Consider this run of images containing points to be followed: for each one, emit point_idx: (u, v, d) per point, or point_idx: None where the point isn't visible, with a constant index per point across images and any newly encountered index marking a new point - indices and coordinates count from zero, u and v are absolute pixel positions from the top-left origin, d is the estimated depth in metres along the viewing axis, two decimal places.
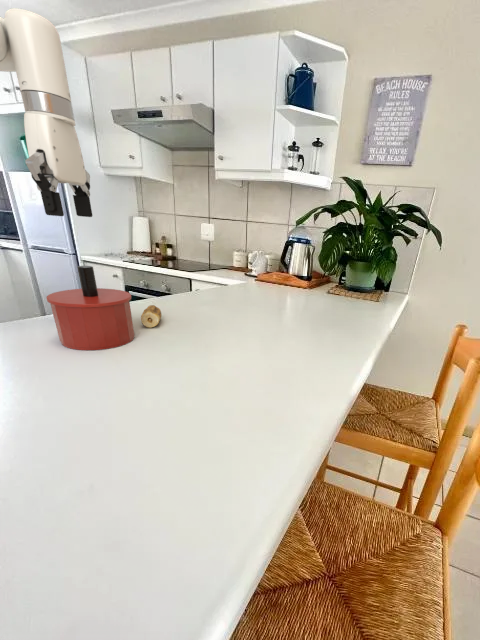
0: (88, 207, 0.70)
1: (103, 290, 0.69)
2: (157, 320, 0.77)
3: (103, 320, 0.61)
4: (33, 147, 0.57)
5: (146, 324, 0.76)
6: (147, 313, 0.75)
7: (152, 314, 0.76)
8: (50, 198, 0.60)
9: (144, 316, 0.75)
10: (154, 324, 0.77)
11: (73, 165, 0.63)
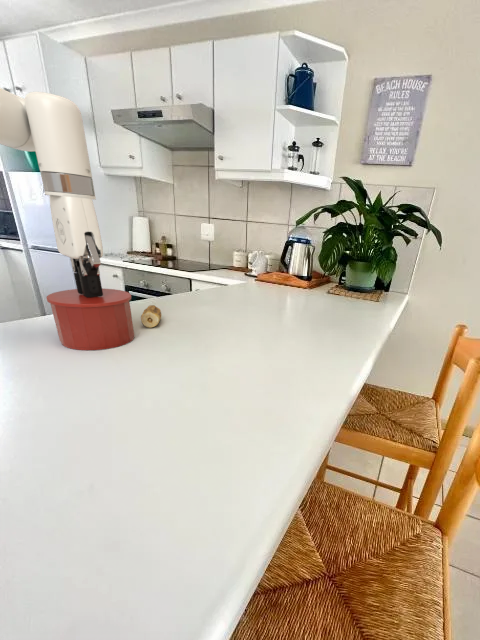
0: None
1: (103, 290, 0.69)
2: (157, 320, 0.77)
3: (103, 320, 0.61)
4: (81, 230, 0.55)
5: (146, 324, 0.76)
6: (147, 313, 0.75)
7: (152, 314, 0.76)
8: (96, 282, 0.62)
9: (144, 316, 0.75)
10: (154, 324, 0.77)
11: None
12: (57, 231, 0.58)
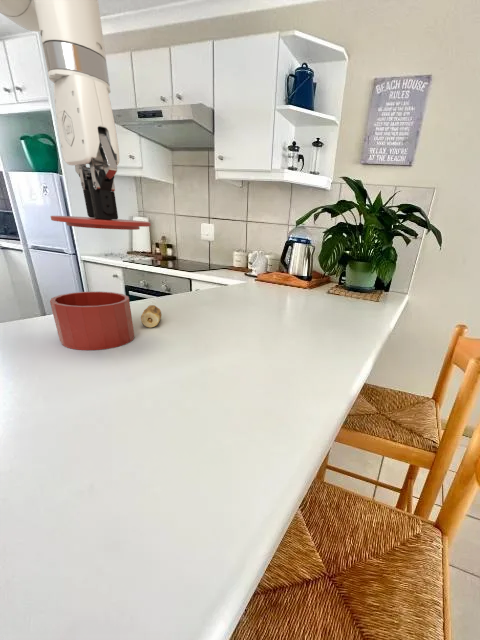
0: None
1: (117, 219, 0.58)
2: (157, 320, 0.77)
3: (103, 320, 0.61)
4: (94, 123, 0.45)
5: (146, 324, 0.76)
6: (147, 313, 0.75)
7: (152, 314, 0.76)
8: (110, 199, 0.51)
9: (144, 316, 0.75)
10: (154, 324, 0.77)
11: None
12: (63, 131, 0.48)
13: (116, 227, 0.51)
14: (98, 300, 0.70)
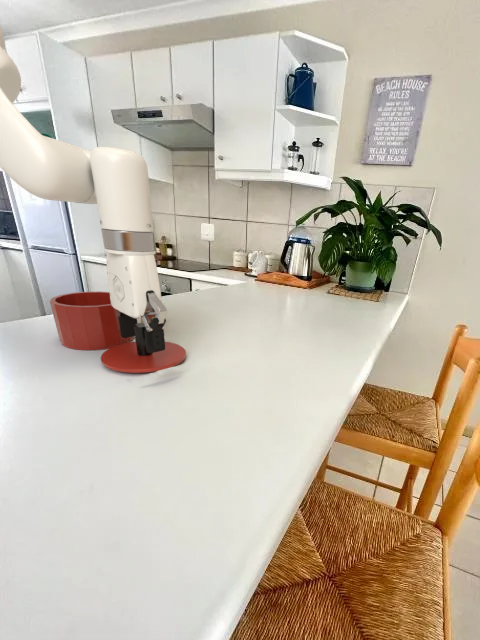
0: None
1: None
2: None
3: (103, 320, 0.61)
4: (143, 290, 0.51)
5: None
6: None
7: None
8: (160, 336, 0.55)
9: None
10: None
11: None
12: (113, 287, 0.54)
13: None
14: (98, 300, 0.70)
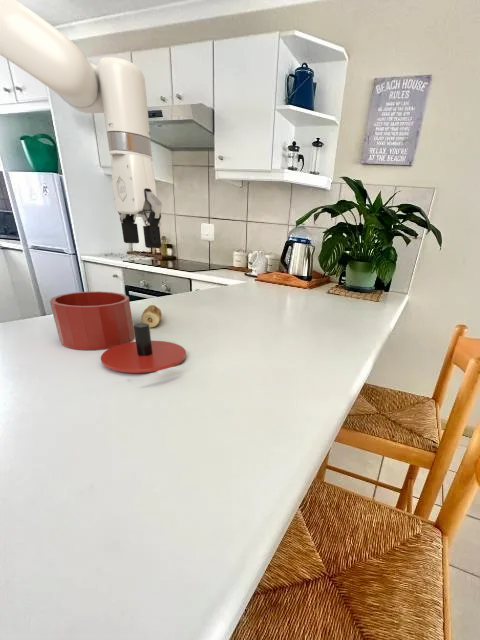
0: (137, 234, 0.72)
1: (154, 344, 0.65)
2: (157, 320, 0.77)
3: (103, 320, 0.61)
4: (141, 186, 0.61)
5: None
6: (147, 313, 0.75)
7: (152, 314, 0.76)
8: (156, 232, 0.65)
9: (144, 316, 0.75)
10: (154, 324, 0.77)
11: None
12: (117, 189, 0.64)
13: None
14: (98, 300, 0.70)
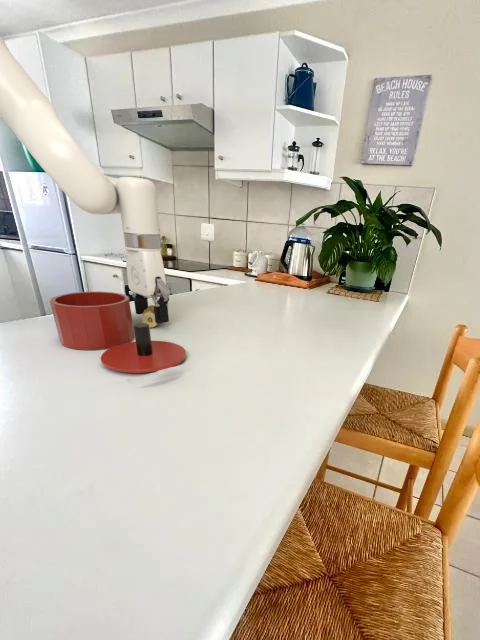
0: (147, 306, 0.82)
1: (154, 344, 0.65)
2: None
3: (103, 320, 0.61)
4: (153, 276, 0.71)
5: None
6: (147, 313, 0.75)
7: (152, 314, 0.76)
8: (165, 311, 0.76)
9: (144, 316, 0.75)
10: (154, 324, 0.77)
11: None
12: (131, 275, 0.74)
13: None
14: (98, 300, 0.70)
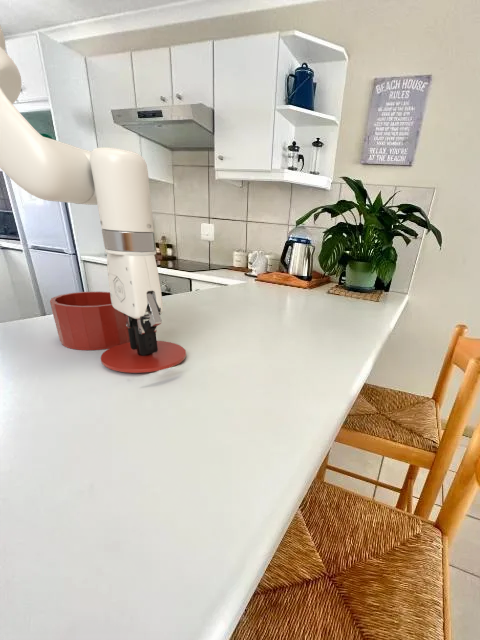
0: None
1: None
2: None
3: (103, 320, 0.61)
4: (143, 290, 0.51)
5: None
6: None
7: None
8: (152, 339, 0.58)
9: None
10: None
11: None
12: (114, 287, 0.54)
13: None
14: (98, 300, 0.70)
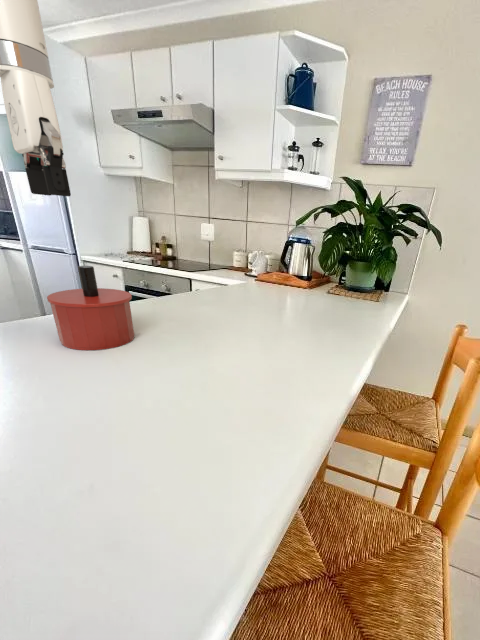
0: None
1: (103, 290, 0.69)
2: None
3: (103, 320, 0.61)
4: (35, 114, 0.49)
5: None
6: None
7: None
8: (61, 176, 0.53)
9: None
10: None
11: None
12: (10, 122, 0.52)
13: None
14: None
